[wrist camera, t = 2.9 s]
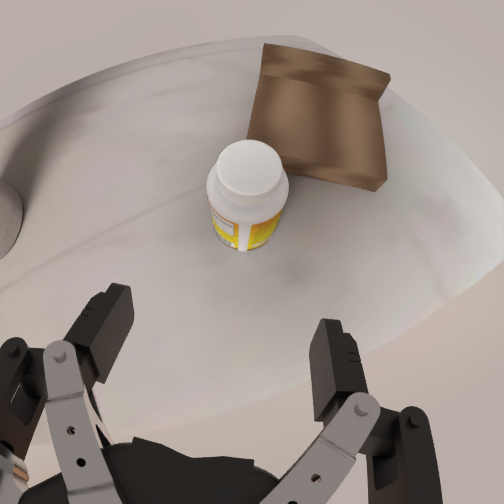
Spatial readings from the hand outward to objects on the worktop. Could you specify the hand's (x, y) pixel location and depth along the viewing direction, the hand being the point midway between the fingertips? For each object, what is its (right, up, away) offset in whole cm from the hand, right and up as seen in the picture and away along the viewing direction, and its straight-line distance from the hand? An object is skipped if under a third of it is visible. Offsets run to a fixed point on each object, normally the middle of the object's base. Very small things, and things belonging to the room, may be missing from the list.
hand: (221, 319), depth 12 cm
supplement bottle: (0, +5, +15) cm, 16 cm away
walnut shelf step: (+8, +16, +18) cm, 25 cm away
